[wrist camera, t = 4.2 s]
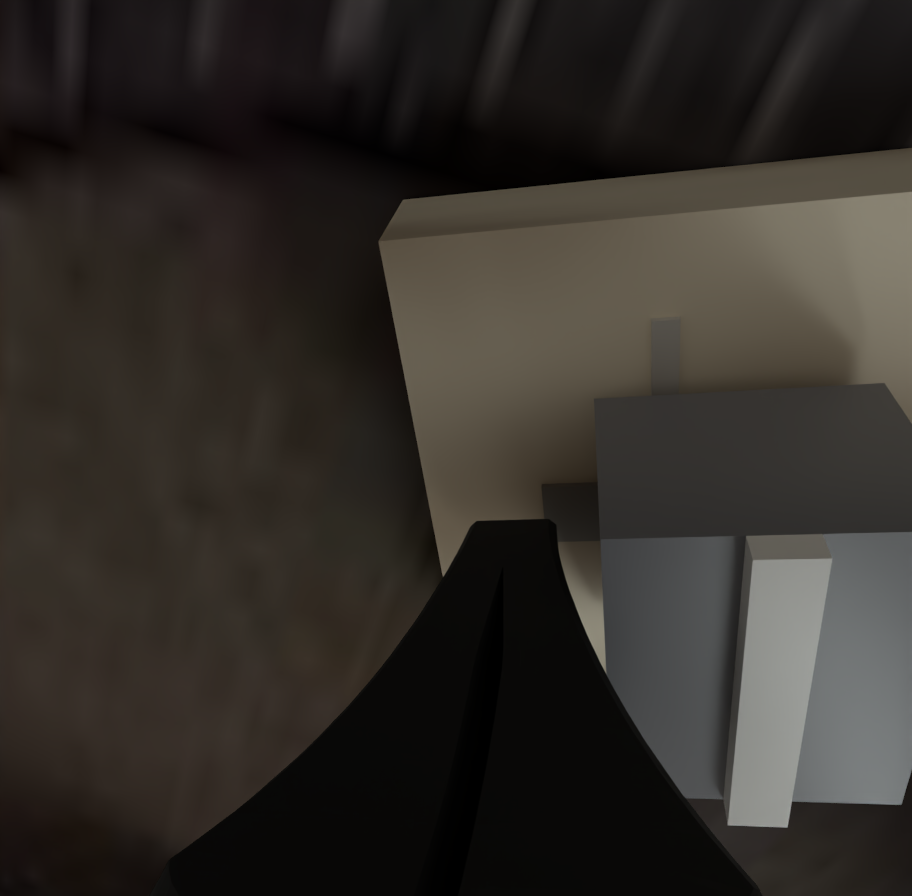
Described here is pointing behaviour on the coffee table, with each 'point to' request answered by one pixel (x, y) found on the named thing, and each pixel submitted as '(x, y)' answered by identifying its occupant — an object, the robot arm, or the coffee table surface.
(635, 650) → the fader tab
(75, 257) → the coffee table surface
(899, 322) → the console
